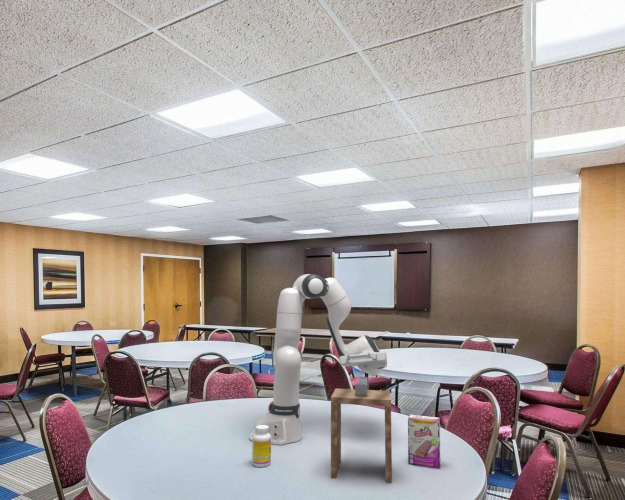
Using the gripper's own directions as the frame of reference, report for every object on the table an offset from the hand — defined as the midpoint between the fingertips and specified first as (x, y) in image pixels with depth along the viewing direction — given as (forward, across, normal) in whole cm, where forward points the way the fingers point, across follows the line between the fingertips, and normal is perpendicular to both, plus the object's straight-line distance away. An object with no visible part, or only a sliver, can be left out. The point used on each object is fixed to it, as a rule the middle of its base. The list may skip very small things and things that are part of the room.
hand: (358, 356), depth 168 cm
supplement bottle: (+19, -34, +39) cm, 55 cm away
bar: (+13, +4, +15) cm, 20 cm away
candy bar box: (-4, +21, +40) cm, 45 cm away
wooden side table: (+11, +1, +41) cm, 43 cm away
